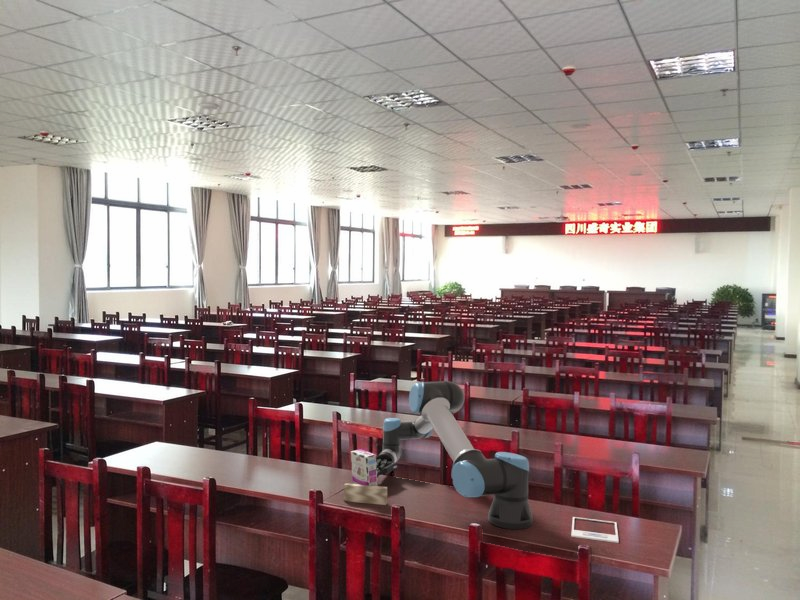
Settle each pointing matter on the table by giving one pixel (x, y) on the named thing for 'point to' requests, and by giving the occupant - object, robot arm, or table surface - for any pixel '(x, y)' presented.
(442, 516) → the table surface
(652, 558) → the table surface
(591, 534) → the photo frame
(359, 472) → the candy bar box
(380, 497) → the board
